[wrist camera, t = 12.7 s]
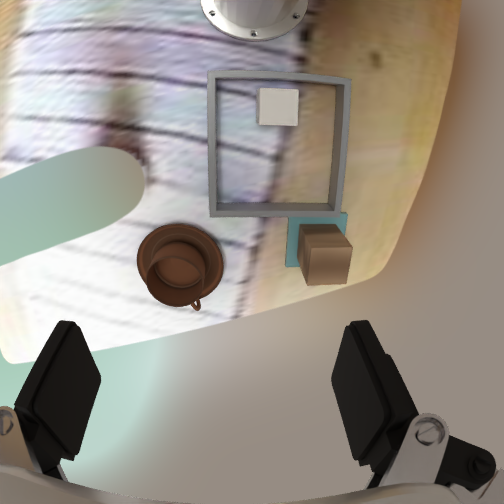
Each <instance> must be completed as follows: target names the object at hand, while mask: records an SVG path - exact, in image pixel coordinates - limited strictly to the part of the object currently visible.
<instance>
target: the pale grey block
mask: <svg viewBox="0 0 504 504" xmlns="http://www.w3.org/2000/svg"><path fill="white" fill-rule="evenodd" d="M298 94H299V90H296V89H278V88H259V89H257V95H256V122H257V123H258V124H259V125H286V126H298Z"/></svg>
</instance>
